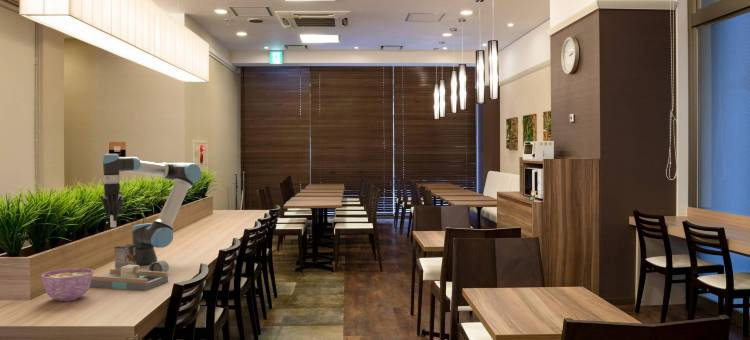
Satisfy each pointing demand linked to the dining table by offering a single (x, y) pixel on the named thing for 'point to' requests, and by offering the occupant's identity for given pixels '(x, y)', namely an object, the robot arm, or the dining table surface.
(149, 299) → the dining table surface
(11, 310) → the dining table surface
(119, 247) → the coffee box
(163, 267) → the ceramic mug
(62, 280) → the bowl of food
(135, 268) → the maple block
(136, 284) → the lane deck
